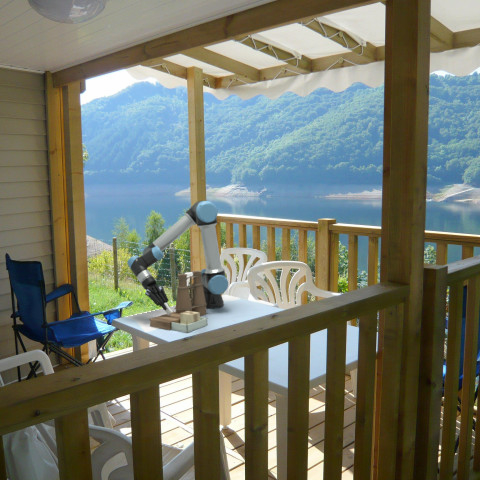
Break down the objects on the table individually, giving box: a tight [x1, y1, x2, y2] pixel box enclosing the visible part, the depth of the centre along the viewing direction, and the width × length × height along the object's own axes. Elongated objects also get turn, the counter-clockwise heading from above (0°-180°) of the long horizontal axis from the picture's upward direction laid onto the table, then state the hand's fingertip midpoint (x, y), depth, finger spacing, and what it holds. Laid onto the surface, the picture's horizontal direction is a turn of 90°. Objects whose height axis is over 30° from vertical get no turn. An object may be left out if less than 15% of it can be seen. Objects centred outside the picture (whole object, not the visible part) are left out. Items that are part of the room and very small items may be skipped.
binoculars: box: [174, 270, 207, 317], centre depth 284 cm, size 21×10×25 cm, turn 137°
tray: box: [171, 316, 208, 334], centre depth 262 cm, size 16×11×4 cm
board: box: [149, 310, 181, 331], centre depth 269 cm, size 18×14×4 cm
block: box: [180, 311, 201, 325], centre depth 262 cm, size 6×7×8 cm
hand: (170, 313), depth 269 cm, fingers closed
